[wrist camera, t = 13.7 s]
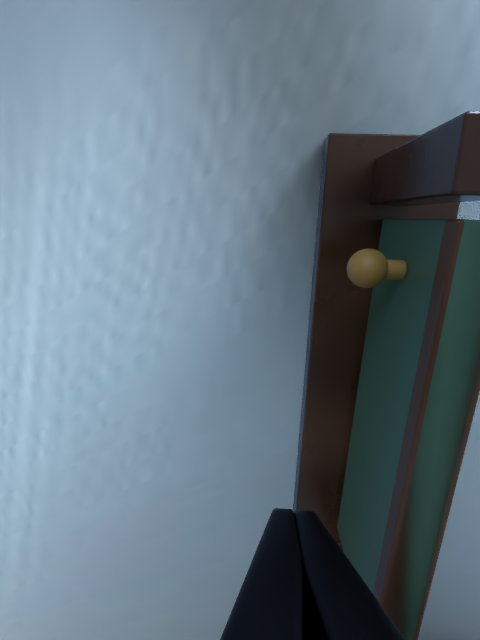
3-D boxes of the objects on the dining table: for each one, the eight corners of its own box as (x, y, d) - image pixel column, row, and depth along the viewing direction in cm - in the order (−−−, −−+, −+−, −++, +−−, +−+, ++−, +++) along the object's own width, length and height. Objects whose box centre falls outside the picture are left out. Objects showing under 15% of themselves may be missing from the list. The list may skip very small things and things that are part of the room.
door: (362, 542, 17) (407, 683, 12) (299, 537, 17) (316, 674, 12) (418, 220, 13) (523, 221, 8) (335, 216, 13) (384, 215, 8)
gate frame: (384, 559, 19) (451, 745, 12) (289, 552, 19) (305, 732, 13) (458, 141, 14) (653, 65, 7) (323, 138, 14) (385, 62, 7)
